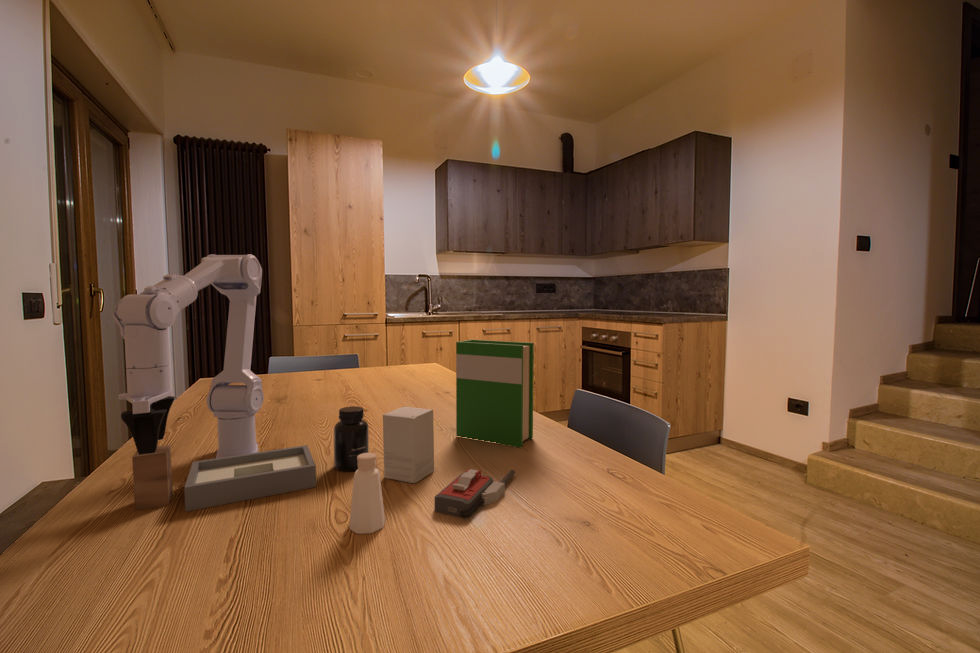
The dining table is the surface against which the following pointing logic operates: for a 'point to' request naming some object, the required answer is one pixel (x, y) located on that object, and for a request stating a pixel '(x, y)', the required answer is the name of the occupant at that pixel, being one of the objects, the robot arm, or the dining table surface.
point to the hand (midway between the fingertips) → (151, 446)
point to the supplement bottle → (350, 438)
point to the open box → (248, 477)
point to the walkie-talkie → (469, 493)
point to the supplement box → (408, 444)
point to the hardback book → (494, 391)
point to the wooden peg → (152, 478)
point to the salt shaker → (366, 497)
